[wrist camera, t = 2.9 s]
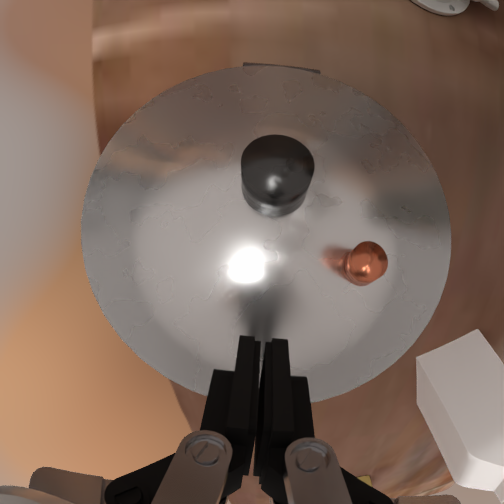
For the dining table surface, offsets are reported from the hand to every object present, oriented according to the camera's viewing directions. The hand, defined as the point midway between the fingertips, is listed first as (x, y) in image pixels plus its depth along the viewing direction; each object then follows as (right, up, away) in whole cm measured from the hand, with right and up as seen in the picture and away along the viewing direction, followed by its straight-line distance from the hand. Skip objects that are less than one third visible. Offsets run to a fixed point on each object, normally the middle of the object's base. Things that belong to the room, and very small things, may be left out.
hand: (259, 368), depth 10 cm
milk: (+31, -15, +29) cm, 45 cm away
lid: (+1, +7, +4) cm, 8 cm away
